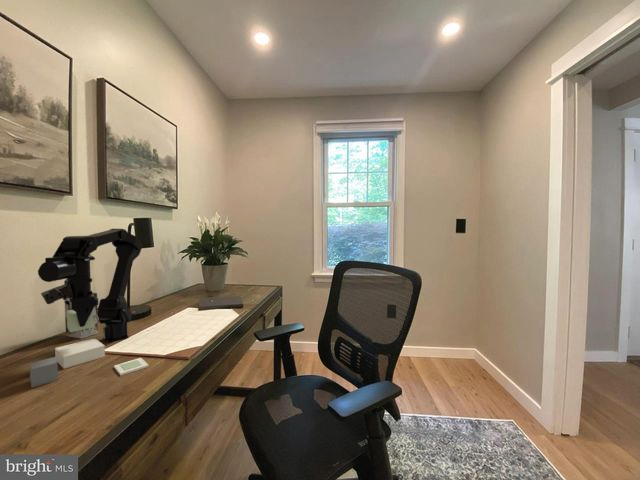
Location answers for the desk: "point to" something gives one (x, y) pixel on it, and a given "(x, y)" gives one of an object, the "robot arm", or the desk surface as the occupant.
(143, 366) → the card
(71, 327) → the sage cube
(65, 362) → the plinth
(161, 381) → the desk surface
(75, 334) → the coffee box
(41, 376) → the slate cube
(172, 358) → the desk surface
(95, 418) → the desk surface
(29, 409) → the desk surface
